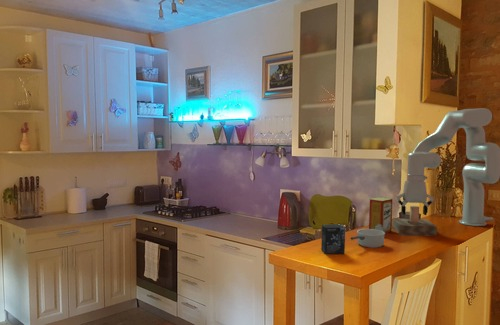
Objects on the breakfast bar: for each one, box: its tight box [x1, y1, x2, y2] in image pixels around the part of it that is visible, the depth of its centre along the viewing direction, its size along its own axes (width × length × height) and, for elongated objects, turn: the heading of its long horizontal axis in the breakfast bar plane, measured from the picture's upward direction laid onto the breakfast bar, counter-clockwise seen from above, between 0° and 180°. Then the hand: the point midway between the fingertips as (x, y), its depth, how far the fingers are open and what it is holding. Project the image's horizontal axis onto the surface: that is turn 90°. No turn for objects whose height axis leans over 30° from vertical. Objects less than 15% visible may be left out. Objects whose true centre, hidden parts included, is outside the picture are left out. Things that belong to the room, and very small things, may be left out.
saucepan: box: [350, 228, 386, 249], centre depth 172 cm, size 12×20×6 cm, turn 133°
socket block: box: [392, 217, 438, 237], centre depth 199 cm, size 16×16×4 cm
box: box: [320, 223, 346, 255], centre depth 163 cm, size 8×6×11 cm
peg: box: [409, 205, 420, 224], centre depth 199 cm, size 4×4×12 cm
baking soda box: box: [368, 197, 393, 234], centre depth 198 cm, size 10×6×16 cm
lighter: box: [375, 220, 391, 238], centre depth 189 cm, size 7×2×8 cm, turn 43°
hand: (414, 214), depth 199 cm, fingers open, 9 cm apart
